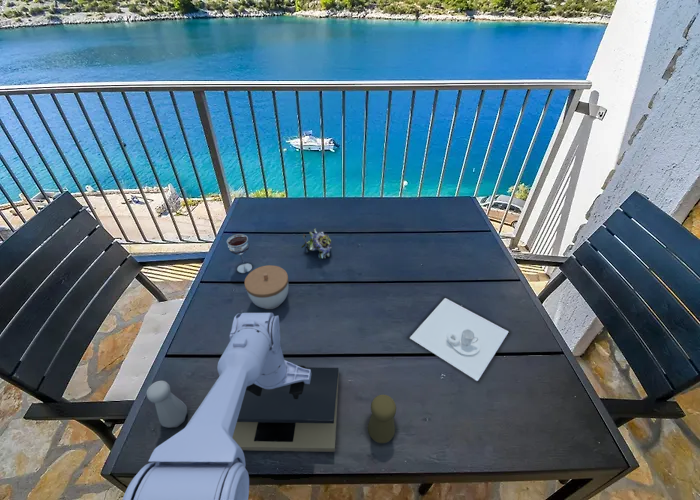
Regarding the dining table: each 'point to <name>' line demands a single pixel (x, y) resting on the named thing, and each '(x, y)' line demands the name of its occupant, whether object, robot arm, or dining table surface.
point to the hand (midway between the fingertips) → (278, 392)
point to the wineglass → (239, 250)
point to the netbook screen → (294, 401)
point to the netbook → (287, 435)
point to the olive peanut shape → (382, 419)
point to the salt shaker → (167, 404)
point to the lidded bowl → (267, 286)
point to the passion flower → (319, 244)
